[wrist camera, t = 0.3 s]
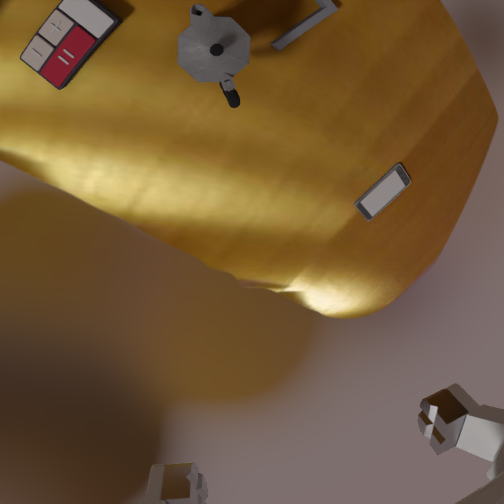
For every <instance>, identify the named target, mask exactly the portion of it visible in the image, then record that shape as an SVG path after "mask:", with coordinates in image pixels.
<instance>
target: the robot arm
mask: <svg viewBox="0 0 504 504" xmlns="http://www.w3.org/2000/svg"><path fill="white" fill-rule="evenodd" d="M420 408H421V409H422V411H421V412H420V414H419V415H418V424H419V428H420V431H421V432H422V434H423V435H424V436H425V437H428V438H430V445H431V447H432V448H433V449H434V451H435V452H436V454H437V455H439V454H441V453H443V452H445V451H446V450H449V449H450V448H452V447H454V446H456V447H458V448H461V449H463V450H465V451H467V452H470V453H472V454H474V455H477V456H479V457H482V458H484V459H487V460H489V461H491V462H492V464H491V466H490V468H489V469H488V471H487V476H488V478H489V479H490V480H491V481H489V482H488V483H486V484H485V485H483V486H482V487H480V488H479V489H477V490H476V491H474V492H473V493H471V494H470V495H468V496H467V497H465V498H463V499H462V500H460V501H458V502H456V503H455V504H504V409H500V408H495V407H491V406H487V405H481V406H480V405H479V404H478V403H477V402H476V401H475V400H474V399H473V398H472V397H471V396H470V395H468V393H466V391H465V390H464V389H463V388H461V386H460V385H458V384H456V383H455V384H453V385H451V386H449V387H447V388H445V389H442V390H440V391H438V392H436V393H434V394H432V395H431V396H429V397H427V398H424V399H422V401H421V403H420ZM207 497H208V489H207V484H206V481H205V478H204V476H203V475H202V474H200V473H198V467H197V465H196V464H195V463H181V464H163V465H153V466H152V468H151V470H150V477H149V482H148V489H147V495H146V500H142V501H141V502H140V503H139V504H206V503H205V500H206V498H207Z"/></svg>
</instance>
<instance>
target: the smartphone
mask: <svg viewBox="0 0 504 504" xmlns="http://www.w3.org/2000/svg"><path fill="white" fill-rule="evenodd" d="M410 182H411V180H410V179H409V177H408V175H407V174H406V172H405V170H404V169H403V167H402V166H401V165H400V164H399V163H397V164H395V165H394V166H393V167H392V168H391V169H390V170H389V171H388V172H387V173H386V174H385V175H384V176H382V177H381V178H380V179H379V180H378V181H377V182H376V183H375V184H374V185H373V186H372V187H371V188H370V189H369V190H367V191H366V192H365V193H364V194H363V195H362V196H361V197H360V198H359V199H358V200H357V201H356V202H355V203H354V205H355V207H356V208H357V209H358V210H359V211H360V212H361V214H362V215H363V216H364V217H365V218H366V219H367V220H368V221H370V220H372V219H373V218H374V217H375V216H376V215H377V214H378V213H379V212H380V211H381V210H382V209H384V208H385V207H386V206H387V205H388V204H389V203H390V202H391V201H392V200H393V199H394V198H395V197H396V196H398V195H399V194H400V193H401V192H402V191H403V190H404V189H405V188H406V187H407V186H408V185H409V184H410Z"/></svg>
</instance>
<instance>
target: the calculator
mask: <svg viewBox="0 0 504 504" xmlns="http://www.w3.org/2000/svg"><path fill="white" fill-rule="evenodd" d="M121 23H122V20H121V19H120V18H119V17H118V16H117V15H115V14H114V13H113V12H112V11H111V10H109V9H108V8H107V7H106V6H104V5H103V4H102V3H100V2H99V1H98V0H62V1H61V2H60V3H59V4H58V5H57V7H56V8H55V9H54V10H53V12H52V13H51V14H50V15H49V17H48V18H47V19H46V20H45V22H44V23H43V24H42V26H41V27H40V28H39V30H38V31H37V32H36V34H35V35H34V37H33V38H32V39H31V41H30V42H29V44H28V45H27V47H26V48H25V49H24V51H23V52H22V54H21V56H20V59H21V60H22V61H23V62H24V63H26V64H27V65H28V66H29V67H31V68H32V69H33V70H34V71H36V72H37V73H38V74H39V75H41V76H42V77H43V78H44V79H46V80H47V81H48V82H49V83H51V84H52V85H53V86H54V87H56V88H57V89H58V90H61V89H63V88H64V87H66V86H67V85H68V83H69V82H70V81H71V79H72V78H73V77H74V76H75V74H76V73H77V72H78V71H79V69H80V68H81V67H82V66H83V64H84V63H85V62H86V61H87V60H88V58H89V57H90V56H91V55H92V54H93V52H94V51H95V50H96V49H97V48H98V47H99V46H100V44H101V43H102V42H103V41H104V40H105V39H106V38H107V37H108V36H109V35H110V34H111V33H112V32H113V31H114V30H115V29H116V28H117V27H118V26H119V25H120V24H121Z"/></svg>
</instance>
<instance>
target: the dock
mask: <svg viewBox="0 0 504 504" xmlns="http://www.w3.org/2000/svg"><path fill="white" fill-rule="evenodd" d="M315 1H316V2H317V3H318V4H319V6H320V7H321V8H320V9H318V10H317V11H315V12H314V13H312V14H311V15H309V16H308V17H306V18H305V19H303V20H302V21H300V22H299V23H298V24H296V25H295V26H293V27H292V28H291V29H289V30H288V31H286V32H285V33H284V34H282V35H281V36H280V37H278V38H277V39H276V40H274V41H273V42H272V43H270V44H271V45H272V46H273V47H274V48H275V50H281V49H282V48H284V47H285V46H286V45H288V44H289V43H290V42H292V41H293V40H295V39H296V38H297V37H299V36H300V35H301V34H303V33H304V32H306V31H307V30H309V29H310V28H311V27H313V26H314V25H316V24H317V23H319V22H320V21H322V20H323V19H325V18H326V17H328V16H329V15H331V14H332V13H334V12H335V11H337V10H338V9H337V7H336V6H335V5H334V3H333V2H332V1H331V0H315Z"/></svg>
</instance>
